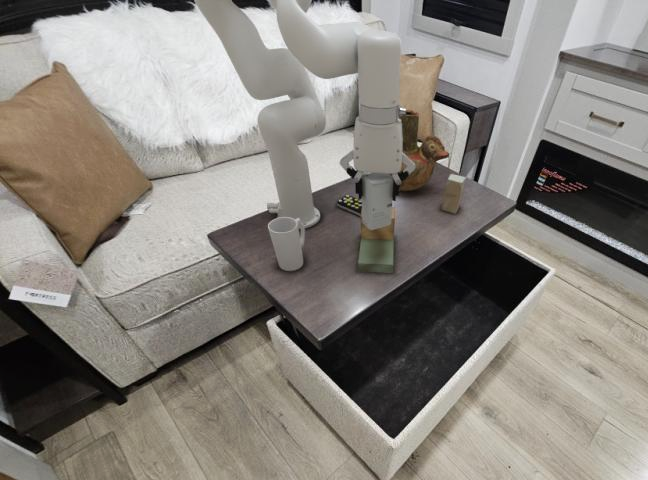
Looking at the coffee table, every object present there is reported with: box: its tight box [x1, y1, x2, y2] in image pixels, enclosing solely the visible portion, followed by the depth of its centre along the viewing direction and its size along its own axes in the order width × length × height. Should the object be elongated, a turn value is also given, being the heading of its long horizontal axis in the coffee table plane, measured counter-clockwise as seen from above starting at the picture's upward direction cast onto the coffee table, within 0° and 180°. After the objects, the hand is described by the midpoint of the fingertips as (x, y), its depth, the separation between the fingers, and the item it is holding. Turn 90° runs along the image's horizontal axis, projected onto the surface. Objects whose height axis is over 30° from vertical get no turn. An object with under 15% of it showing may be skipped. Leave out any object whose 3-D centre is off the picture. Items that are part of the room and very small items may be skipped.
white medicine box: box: [361, 172, 394, 230], centre depth 78 cm, size 6×4×12 cm
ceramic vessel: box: [390, 108, 451, 192], centre depth 112 cm, size 17×26×25 cm, turn 77°
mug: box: [267, 217, 306, 272], centre depth 85 cm, size 10×7×12 cm, turn 151°
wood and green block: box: [357, 206, 396, 274], centre depth 90 cm, size 9×16×10 cm, turn 0°
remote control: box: [336, 194, 362, 217], centre depth 108 cm, size 6×13×2 cm, turn 57°
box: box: [441, 173, 467, 215], centre depth 108 cm, size 5×4×11 cm
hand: (377, 196), depth 77 cm, fingers closed on white medicine box, 7 cm apart
